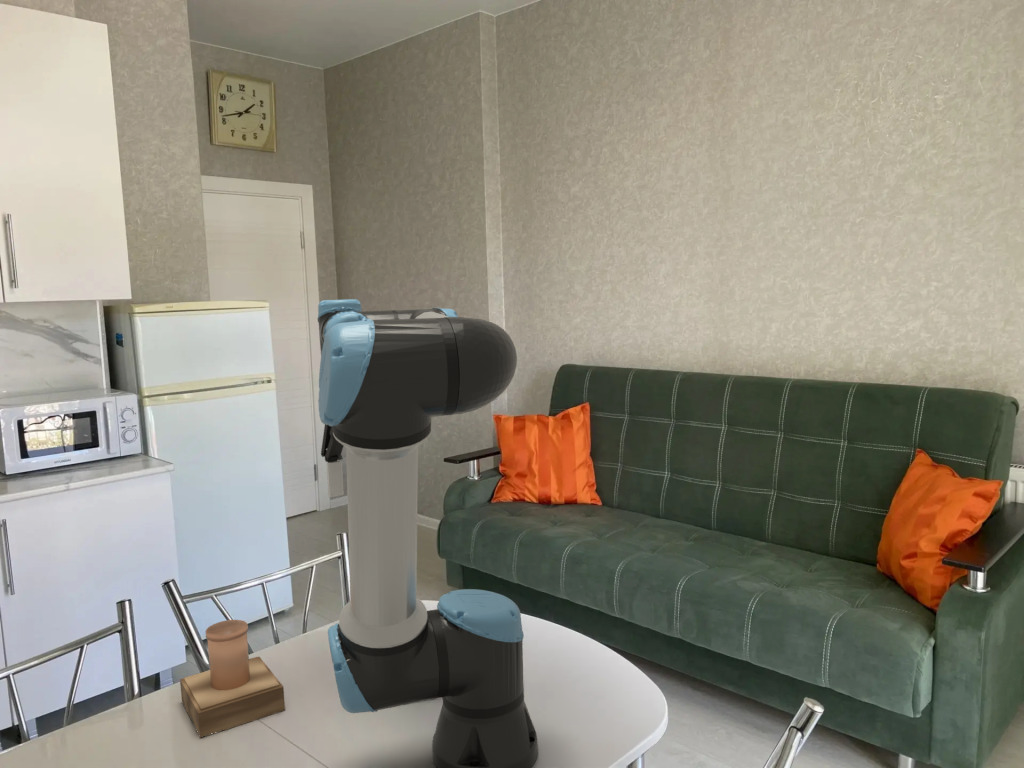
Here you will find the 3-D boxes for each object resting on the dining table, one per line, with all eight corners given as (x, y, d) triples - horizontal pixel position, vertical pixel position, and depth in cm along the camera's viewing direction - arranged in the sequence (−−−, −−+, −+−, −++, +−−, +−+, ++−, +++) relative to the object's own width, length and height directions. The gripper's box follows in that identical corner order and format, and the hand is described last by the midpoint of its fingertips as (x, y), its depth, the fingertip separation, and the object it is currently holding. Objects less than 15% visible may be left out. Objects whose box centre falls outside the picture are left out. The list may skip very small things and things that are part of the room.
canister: (256, 682, 125) (252, 629, 124) (215, 695, 122) (210, 640, 120) (245, 667, 130) (241, 616, 129) (205, 679, 127) (201, 626, 126)
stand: (284, 710, 125) (283, 684, 124) (200, 738, 117) (198, 711, 117) (260, 678, 135) (259, 654, 135) (182, 702, 128) (179, 677, 128)
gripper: (394, 391, 129) (400, 515, 131) (337, 379, 149) (343, 486, 152) (352, 395, 125) (359, 523, 127) (299, 383, 145) (306, 493, 148)
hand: (350, 503), depth 139 cm, fingers open, 13 cm apart
